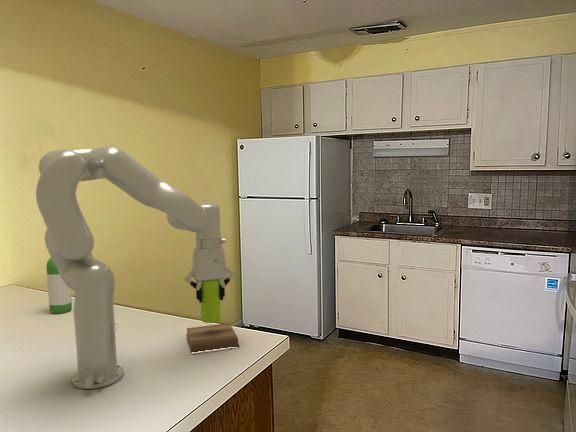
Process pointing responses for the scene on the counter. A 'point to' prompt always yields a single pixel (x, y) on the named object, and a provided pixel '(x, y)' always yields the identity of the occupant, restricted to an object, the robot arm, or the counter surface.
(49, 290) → the wine bottle
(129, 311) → the counter surface
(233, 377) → the counter surface
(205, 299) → the soap dispenser
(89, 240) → the robot arm
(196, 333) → the plinth
